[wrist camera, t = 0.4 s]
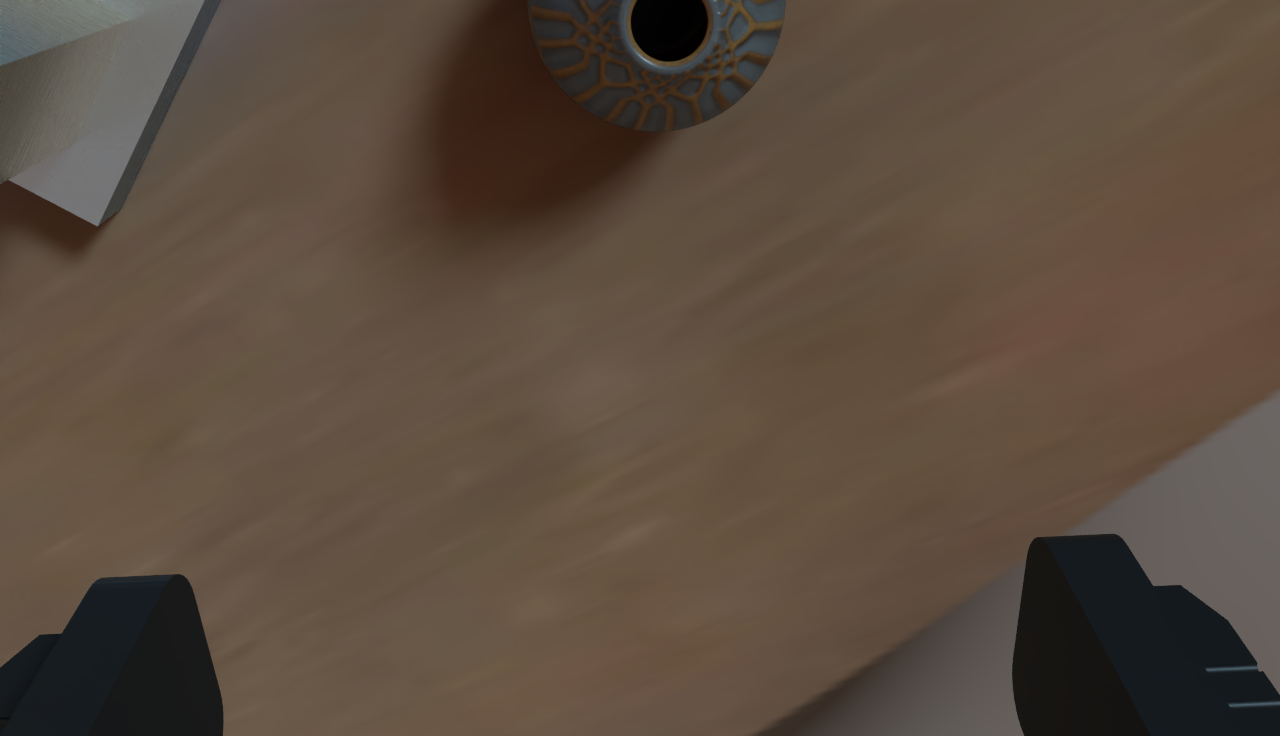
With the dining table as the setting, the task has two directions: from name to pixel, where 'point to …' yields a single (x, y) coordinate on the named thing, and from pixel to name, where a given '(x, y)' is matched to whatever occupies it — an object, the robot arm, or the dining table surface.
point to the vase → (656, 55)
